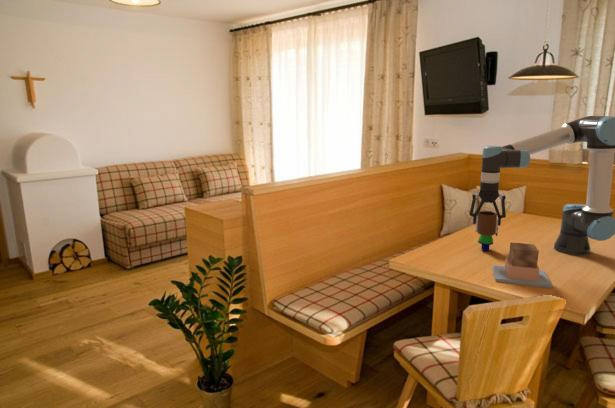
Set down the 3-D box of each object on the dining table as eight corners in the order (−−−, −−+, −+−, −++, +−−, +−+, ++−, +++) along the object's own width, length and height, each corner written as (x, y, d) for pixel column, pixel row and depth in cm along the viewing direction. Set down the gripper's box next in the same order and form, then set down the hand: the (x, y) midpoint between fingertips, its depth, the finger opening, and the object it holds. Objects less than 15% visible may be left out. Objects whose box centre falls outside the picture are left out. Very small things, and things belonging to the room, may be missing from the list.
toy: (496, 253, 205) (499, 222, 201) (477, 251, 206) (480, 221, 203) (492, 247, 213) (495, 218, 210) (473, 246, 215) (476, 217, 212)
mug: (481, 227, 199) (482, 208, 197) (498, 230, 195) (500, 210, 193) (475, 234, 189) (476, 213, 187) (493, 237, 185) (495, 216, 183)
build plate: (544, 273, 180) (546, 259, 178) (551, 288, 165) (553, 273, 164) (492, 267, 186) (494, 253, 185) (495, 281, 172) (497, 266, 170)
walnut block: (532, 260, 177) (534, 244, 176) (536, 268, 169) (538, 251, 167) (508, 258, 180) (510, 242, 178) (511, 265, 171) (513, 248, 170)
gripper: (514, 181, 187) (509, 231, 192) (464, 179, 194) (461, 227, 199) (516, 184, 180) (511, 235, 185) (465, 182, 187) (461, 232, 192)
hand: (485, 231), depth 192 cm, fingers closed on mug, 7 cm apart
